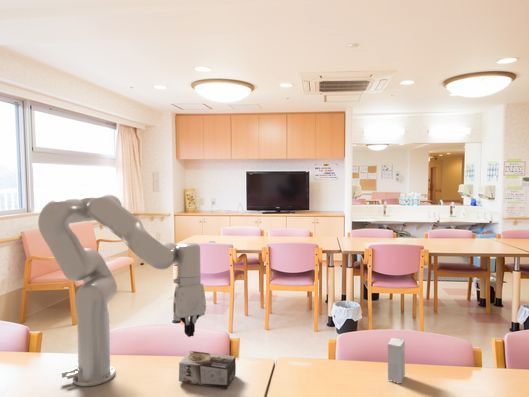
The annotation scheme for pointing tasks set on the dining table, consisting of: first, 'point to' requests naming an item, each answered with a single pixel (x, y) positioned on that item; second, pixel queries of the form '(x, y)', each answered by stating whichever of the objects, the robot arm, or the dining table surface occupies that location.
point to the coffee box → (207, 369)
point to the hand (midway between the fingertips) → (189, 335)
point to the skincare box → (396, 360)
